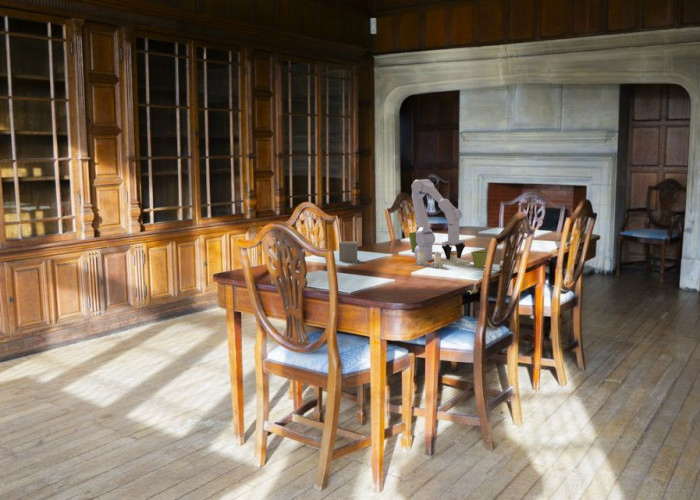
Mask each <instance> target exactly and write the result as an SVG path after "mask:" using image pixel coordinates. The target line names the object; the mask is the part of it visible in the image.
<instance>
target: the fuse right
mask: <svg viewBox="0 0 700 500" xmlns="http://www.w3.org/2000/svg"><path fill="white" fill-rule="evenodd" d="M441 260H442V253H441V252H434V253H433V262H434V268H433V269H435V268H439V264H441Z"/></svg>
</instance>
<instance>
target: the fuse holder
mask: <svg viewBox="0 0 700 500" xmlns="http://www.w3.org/2000/svg"><path fill="white" fill-rule="evenodd" d="M429 263H430V264H429ZM411 265H412V266H418V267H424V268H430V269H435V270H439V269H446V268H448V267H447V266H444V264H439V268H434V261H432V262H429V261H422V265H418V260H417V259H415V263H412V264H411Z"/></svg>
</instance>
